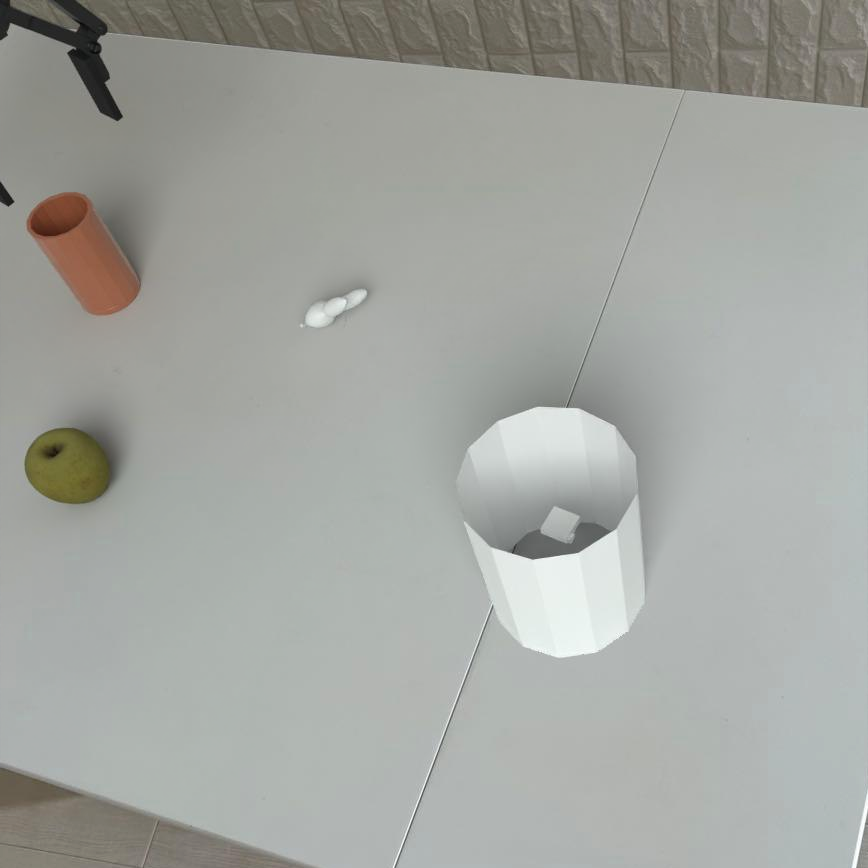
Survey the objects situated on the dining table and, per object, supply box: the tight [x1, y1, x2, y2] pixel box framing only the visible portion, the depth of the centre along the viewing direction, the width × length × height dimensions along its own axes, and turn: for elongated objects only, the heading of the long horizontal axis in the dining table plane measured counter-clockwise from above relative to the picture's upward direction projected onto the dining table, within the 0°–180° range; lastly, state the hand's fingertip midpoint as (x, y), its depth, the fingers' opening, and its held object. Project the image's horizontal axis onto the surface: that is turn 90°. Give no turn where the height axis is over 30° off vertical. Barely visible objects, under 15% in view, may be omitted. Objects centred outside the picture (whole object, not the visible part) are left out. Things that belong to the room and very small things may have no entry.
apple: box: [23, 427, 111, 505], centre depth 108 cm, size 8×8×7 cm
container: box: [454, 406, 646, 659], centre depth 90 cm, size 14×14×18 cm
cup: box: [26, 191, 141, 316], centre depth 121 cm, size 7×7×12 cm
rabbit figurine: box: [299, 288, 368, 329], centre depth 117 cm, size 6×4×8 cm
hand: (59, 156), depth 100 cm, fingers open, 13 cm apart
